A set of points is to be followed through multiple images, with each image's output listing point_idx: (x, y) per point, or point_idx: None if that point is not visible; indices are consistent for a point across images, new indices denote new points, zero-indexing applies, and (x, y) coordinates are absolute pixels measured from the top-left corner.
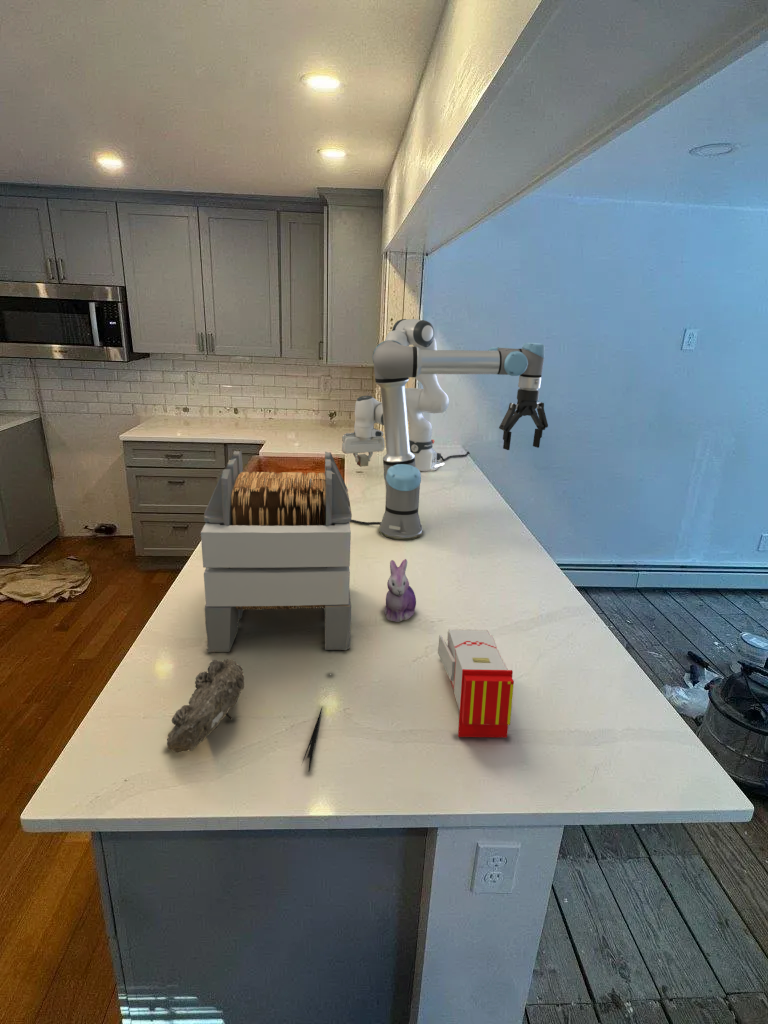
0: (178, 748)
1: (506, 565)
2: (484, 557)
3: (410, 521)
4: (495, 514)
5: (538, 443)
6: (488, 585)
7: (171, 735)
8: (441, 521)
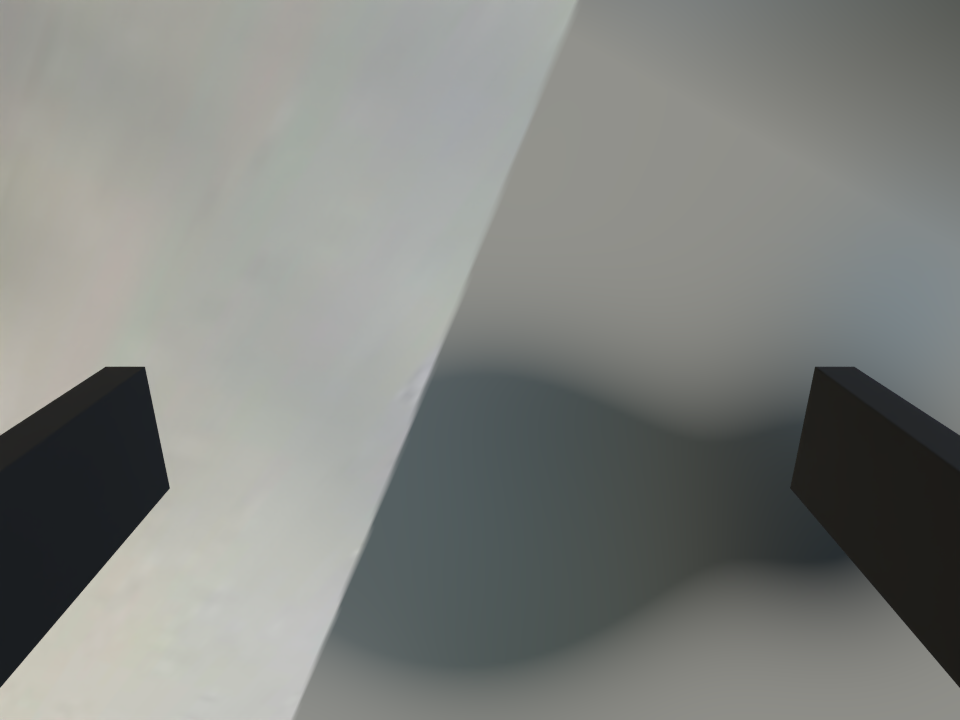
0: None
1: (156, 607)
2: None
3: None
4: (468, 54)
5: (840, 532)
6: (17, 693)
7: None
8: (42, 45)
